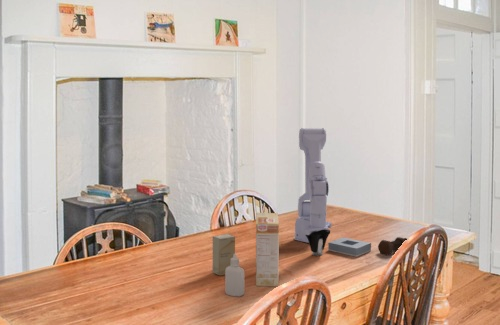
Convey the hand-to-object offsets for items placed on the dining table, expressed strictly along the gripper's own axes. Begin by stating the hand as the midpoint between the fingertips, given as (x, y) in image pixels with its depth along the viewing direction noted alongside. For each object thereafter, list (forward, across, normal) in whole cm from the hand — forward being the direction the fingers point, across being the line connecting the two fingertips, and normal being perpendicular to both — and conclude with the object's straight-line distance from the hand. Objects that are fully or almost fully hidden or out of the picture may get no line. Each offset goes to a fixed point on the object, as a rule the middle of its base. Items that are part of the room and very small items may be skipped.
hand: (317, 250), depth 206 cm
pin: (+1, 0, 0) cm, 1 cm away
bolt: (+2, +24, -18) cm, 30 cm away
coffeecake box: (+2, -32, -3) cm, 32 cm away
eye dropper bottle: (+2, -49, -5) cm, 49 cm away
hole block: (+1, +12, -6) cm, 13 cm away
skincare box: (+2, -37, +11) cm, 39 cm away
